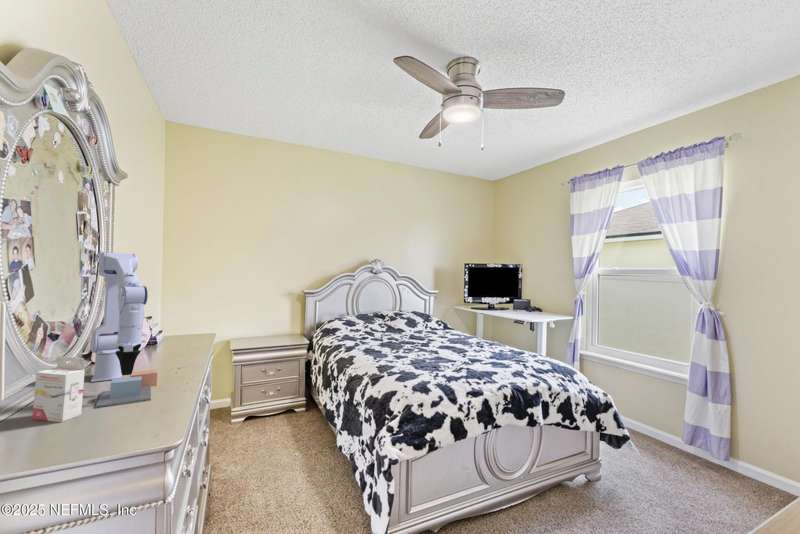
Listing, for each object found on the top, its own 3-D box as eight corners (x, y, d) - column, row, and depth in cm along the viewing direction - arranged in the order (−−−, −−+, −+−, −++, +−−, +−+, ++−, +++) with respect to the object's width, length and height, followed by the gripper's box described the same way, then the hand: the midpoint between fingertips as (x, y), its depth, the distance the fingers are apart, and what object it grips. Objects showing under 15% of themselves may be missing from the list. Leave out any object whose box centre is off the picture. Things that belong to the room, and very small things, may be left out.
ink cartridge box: (30, 420, 83) (35, 359, 83) (52, 412, 88) (57, 355, 88) (61, 423, 82) (66, 361, 83) (82, 415, 87) (87, 357, 88)
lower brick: (111, 394, 100) (112, 379, 100) (140, 390, 104) (141, 376, 105) (109, 399, 97) (110, 383, 97) (140, 395, 101) (141, 379, 101)
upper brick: (128, 386, 110) (129, 372, 111) (155, 382, 115) (156, 369, 115) (129, 390, 107) (130, 375, 107) (156, 386, 112) (157, 372, 112)
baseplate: (101, 393, 103) (101, 391, 103) (150, 387, 110) (150, 385, 110) (95, 408, 91) (95, 405, 91) (150, 400, 99) (150, 398, 99)
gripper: (147, 328, 98) (143, 375, 98) (147, 322, 110) (144, 364, 109) (115, 330, 94) (111, 379, 93) (119, 323, 106) (115, 367, 105)
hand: (127, 371), depth 101 cm, fingers open, 7 cm apart
